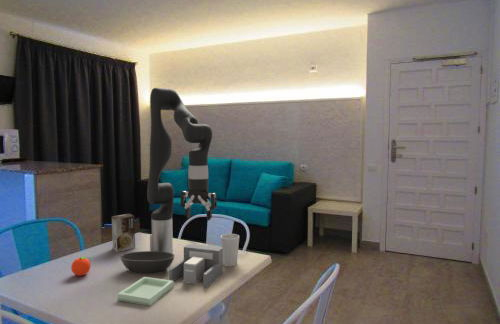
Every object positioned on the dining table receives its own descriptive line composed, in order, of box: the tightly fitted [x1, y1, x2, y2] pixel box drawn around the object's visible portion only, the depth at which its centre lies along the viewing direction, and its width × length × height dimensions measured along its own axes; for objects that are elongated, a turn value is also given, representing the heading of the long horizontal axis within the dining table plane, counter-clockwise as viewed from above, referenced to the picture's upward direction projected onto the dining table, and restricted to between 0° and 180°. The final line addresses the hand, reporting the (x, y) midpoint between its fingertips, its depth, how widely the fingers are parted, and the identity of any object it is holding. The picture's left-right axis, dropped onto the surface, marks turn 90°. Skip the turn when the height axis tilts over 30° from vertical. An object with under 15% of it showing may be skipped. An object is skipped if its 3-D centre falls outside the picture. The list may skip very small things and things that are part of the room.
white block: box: [183, 257, 205, 285], centre depth 143 cm, size 5×9×8 cm, turn 162°
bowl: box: [120, 250, 175, 275], centre depth 152 cm, size 12×22×6 cm, turn 89°
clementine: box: [70, 256, 92, 277], centre depth 148 cm, size 8×7×7 cm
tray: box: [117, 276, 175, 307], centre depth 131 cm, size 12×15×2 cm
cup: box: [220, 233, 240, 267], centre depth 160 cm, size 8×8×12 cm
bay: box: [168, 243, 224, 288], centre depth 145 cm, size 15×16×10 cm
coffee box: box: [111, 213, 136, 253], centre depth 180 cm, size 9×6×16 cm
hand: (198, 219), depth 143 cm, fingers open, 8 cm apart
